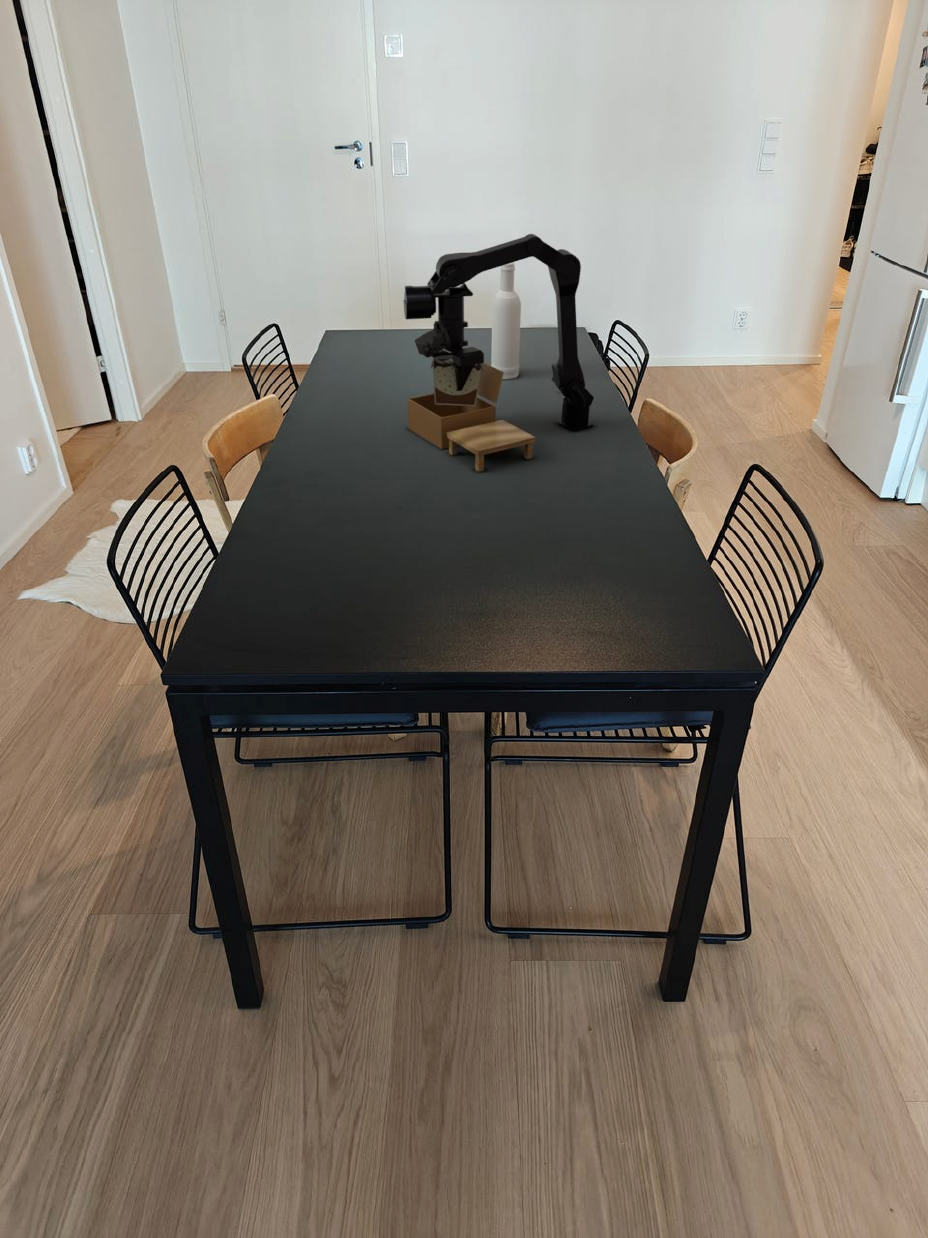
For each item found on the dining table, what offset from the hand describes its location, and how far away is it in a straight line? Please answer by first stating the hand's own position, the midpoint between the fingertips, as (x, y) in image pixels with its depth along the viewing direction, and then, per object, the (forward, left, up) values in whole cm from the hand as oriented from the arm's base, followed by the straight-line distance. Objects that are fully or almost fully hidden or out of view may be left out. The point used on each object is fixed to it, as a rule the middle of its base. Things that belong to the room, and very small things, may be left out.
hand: (452, 386), depth 194 cm
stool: (-16, 0, -11) cm, 20 cm away
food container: (0, -1, -4) cm, 4 cm away
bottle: (+31, -36, -12) cm, 49 cm away
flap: (+1, -8, 0) cm, 8 cm away
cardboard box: (+1, 0, -11) cm, 11 cm away
